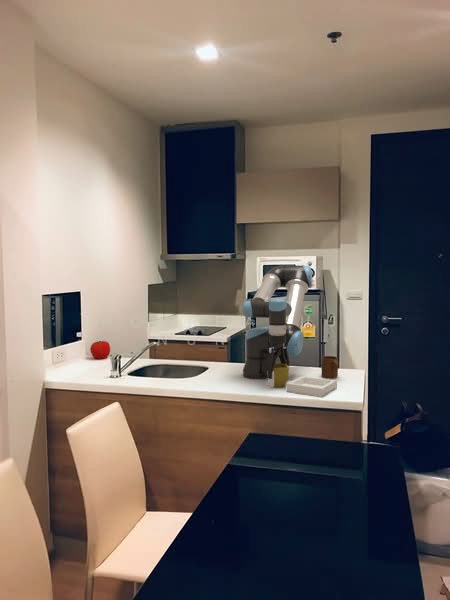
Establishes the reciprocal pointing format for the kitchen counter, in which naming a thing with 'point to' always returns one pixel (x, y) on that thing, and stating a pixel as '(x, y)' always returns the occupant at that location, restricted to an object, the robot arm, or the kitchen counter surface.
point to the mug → (329, 367)
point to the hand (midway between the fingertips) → (277, 383)
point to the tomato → (100, 349)
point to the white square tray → (312, 386)
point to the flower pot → (280, 375)
